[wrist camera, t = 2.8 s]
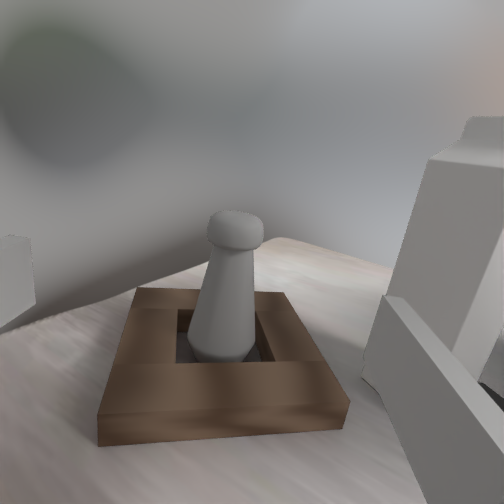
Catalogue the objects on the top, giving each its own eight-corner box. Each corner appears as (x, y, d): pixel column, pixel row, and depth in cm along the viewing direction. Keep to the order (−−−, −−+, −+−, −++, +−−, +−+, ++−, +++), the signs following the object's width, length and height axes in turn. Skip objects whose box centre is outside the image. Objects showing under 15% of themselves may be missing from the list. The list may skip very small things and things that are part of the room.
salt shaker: (175, 371, 25) (186, 215, 21) (197, 332, 31) (209, 201, 27) (246, 387, 25) (272, 229, 21) (255, 344, 30) (277, 213, 26)
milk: (418, 432, 23) (554, 106, 16) (358, 376, 28) (441, 108, 21) (465, 409, 26) (599, 124, 19) (404, 362, 31) (490, 122, 24)
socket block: (279, 311, 37) (283, 292, 36) (342, 428, 22) (350, 401, 22) (136, 308, 33) (136, 287, 33) (98, 446, 19) (97, 414, 18)
